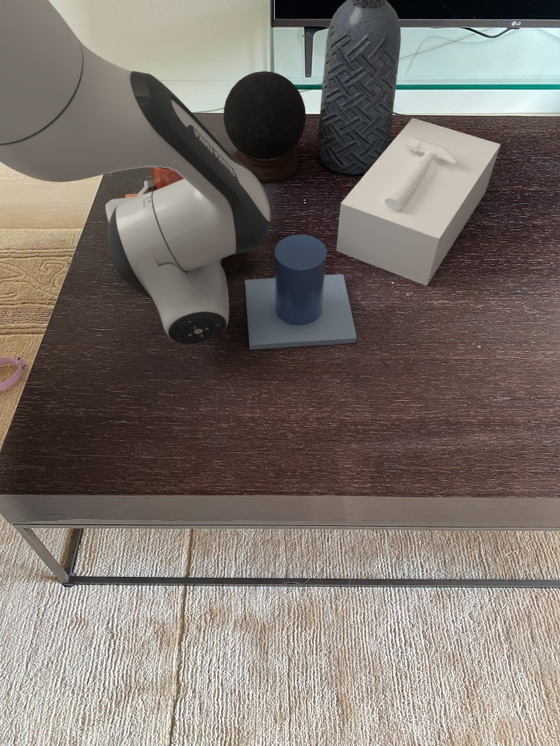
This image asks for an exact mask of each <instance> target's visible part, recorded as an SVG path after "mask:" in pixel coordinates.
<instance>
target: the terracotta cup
mask: <svg viewBox="0 0 560 746" xmlns="http://www.w3.org/2000/svg"><path fill="white" fill-rule="evenodd" d="M150 170H151V175H152V180H153V181H154V185H155V190H158V189H160V188H163V187H165V186H168V185H170V184H173V183H175V182H177V181H180V180H182V179H184V178H183V177H182V176H181V175H180V174H178V173H177V172H176V171H174V170H171V169H168V168H162V167H150Z"/></svg>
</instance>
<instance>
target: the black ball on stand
mask: <svg viewBox="0 0 560 746" xmlns="http://www.w3.org/2000/svg"><path fill="white" fill-rule="evenodd" d="M306 112H307V111H306V106H305V102H304V99H303V96H302V95H301V92H300V90H299V89H298V88H297V87H296V85H295V84H294V83H293V82H292V81H291V80H290V79H289V78H287V77H286V76H284V75H282V74H280V73H277V72H274V71H268V70H262V71H255V72H251V73H248V74H247V75H244V76H243V77H242V78H241V79H239V80H238V81H237V82H236V83H235V84H234V85H233V86H232V88H231V89H230V90H229V93H228V95H227V97H226V99H225V102H224V106H223V124H224V128H225V132H226V134H227V137H228V138H229V140H230V142H231V143H232V145H233V146H234V148H236V149H237V150H236V151H235V152H234V154H233V155H232V156H233V157H234V158H235V159H237V160H238V161H240V162H241V163H243V164H244V165H245V166H247V167H248V168H249V170H250V171H251V172H252V174H254V176H255V177H256V178H257V179H258V181H259V182H260V184H270V183H276V182H281V181H283V180H287V179H288V178H289V177H291V176H293V175H294V174H296V171H297V170H298V169H299V155H298V152H297V150H296V149H294V148H295V147H296V146H297V144H298V143H299V142H300V140H301V138H302V136H303V134H304V130H305V128H306V121H307V113H306Z"/></svg>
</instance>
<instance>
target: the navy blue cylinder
mask: <svg viewBox="0 0 560 746" xmlns="http://www.w3.org/2000/svg"><path fill="white" fill-rule="evenodd" d="M327 254H328V251H327V247H326V245H325V244H324V243H323V242H322V241H321V240H320V239H318V238H317V237H314V236H312V235H308V234H293V235H289V236H286V237H284V238H283V239H281V240H280V241H278V243H277V244H276V245H275V248H274V278H275V311H276V314H277V315H278V317H279V318H280V319H281V320H283V321H284V322H286V323H289V324H292V325H306V324H309V323H312V322H314V321H315V320H316V319H318V318H319V316H320V315H321V313H322V306H323V293H324V281H325V275H326V268H327V267H326V266H327Z"/></svg>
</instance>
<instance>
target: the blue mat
mask: <svg viewBox="0 0 560 746" xmlns="http://www.w3.org/2000/svg"><path fill="white" fill-rule="evenodd" d="M244 289H245V303H246V304H245V305H246V317H247V329H248V345H249V350H250V351H253V350H254V351H255V350H269V349H284V348H285V349H286V348H296V347H297V348H298V347H315V346H328V345H329V346H331V345H343V344H344V345H345V344H356V343H357V341H358V336H357V333H356V328H355V324H354V318H353V314H352V309H351V305H350V300H349V294H348V290H347V285H346V280H345V275H344V273H338V274H325V281H324V293H323V306H322V313H321V315H320V316H319V318H318V319H316V320H315V321H314V322H312V323H309V324H306V325H292V324H289V323H286V322H284V321H283V320H281V319H280V318H279V317H278V315H277V314H276V311H275V277H273V278H270V277H269V278H254V279H244Z"/></svg>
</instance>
